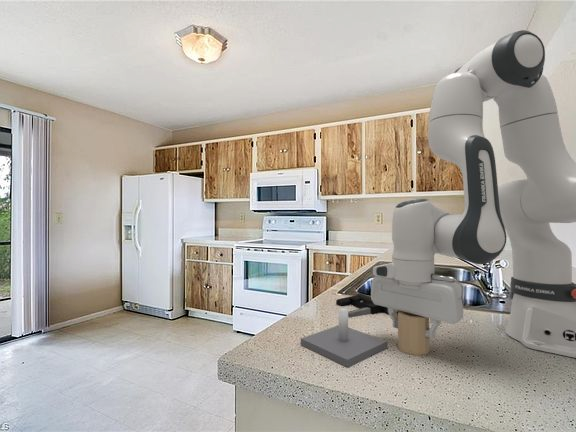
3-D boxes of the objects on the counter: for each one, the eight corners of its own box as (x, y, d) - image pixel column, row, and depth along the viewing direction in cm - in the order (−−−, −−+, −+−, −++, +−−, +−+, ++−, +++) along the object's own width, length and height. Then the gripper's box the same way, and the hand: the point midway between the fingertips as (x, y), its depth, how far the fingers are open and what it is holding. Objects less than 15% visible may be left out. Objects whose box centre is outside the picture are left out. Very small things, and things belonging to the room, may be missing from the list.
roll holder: (387, 347, 70) (387, 310, 70) (347, 367, 61) (347, 324, 61) (340, 330, 81) (340, 298, 81) (300, 344, 72) (300, 308, 72)
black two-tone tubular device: (361, 316, 86) (405, 306, 92) (324, 299, 104) (363, 291, 111) (362, 328, 86) (406, 316, 92) (325, 309, 104) (364, 300, 111)
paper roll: (434, 349, 69) (434, 313, 69) (420, 357, 65) (419, 320, 65) (407, 340, 74) (407, 307, 74) (392, 348, 70) (392, 312, 70)
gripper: (468, 276, 63) (468, 343, 63) (382, 264, 79) (382, 318, 79) (455, 280, 59) (455, 352, 59) (367, 267, 75) (367, 323, 75)
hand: (413, 332), depth 69 cm, fingers closed on paper roll, 6 cm apart
